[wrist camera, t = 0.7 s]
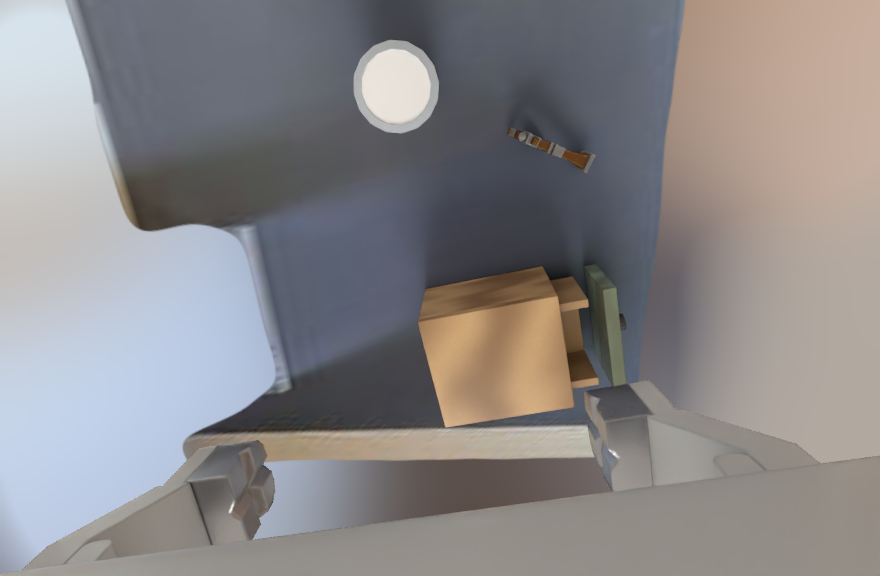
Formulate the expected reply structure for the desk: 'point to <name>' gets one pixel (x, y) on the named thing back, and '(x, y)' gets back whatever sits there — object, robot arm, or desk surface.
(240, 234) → the desk surface
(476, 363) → the cabinet
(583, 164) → the wooden post with brackets
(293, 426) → the desk surface
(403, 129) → the white cup
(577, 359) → the drawer
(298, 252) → the desk surface
